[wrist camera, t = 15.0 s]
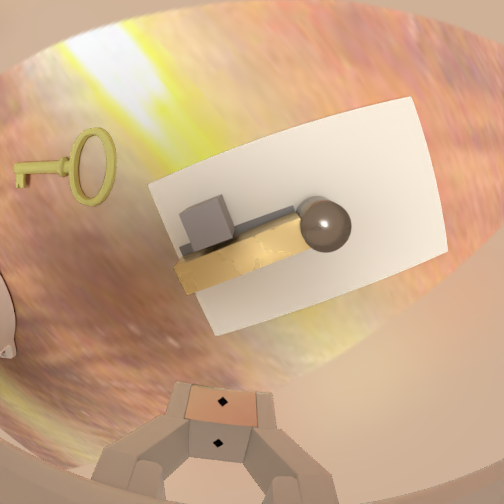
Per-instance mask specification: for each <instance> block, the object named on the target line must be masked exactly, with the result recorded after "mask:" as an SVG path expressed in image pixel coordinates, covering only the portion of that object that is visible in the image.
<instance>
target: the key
mask: <svg viewBox="0 0 504 504" xmlns="http://www.w3.org/2000/svg"><path fill="white" fill-rule="evenodd" d="M92 135H97V136H99V137H100V138H101V140H102V142H103V145H104V148H105V151H106V161H107V162H106V174H105V179H104V183H103V185H102V187H101V190H100V192H99V193H98V195H97V196H96V197H94V198H88V197H86V196H85V195H84V194H83V192H82V190H81V187H80V183H79V175H78V166H79V158H80V153H81V150H82V147H83V145H84V143H85V141H86V140H87V138H89V137H90V136H92ZM14 173H15V174H16V188H25V178H26V174H38V173H58V174H59V175H60V176H61V177H65V176H66V175H67V174H68V173H69V183H70V188H71V191H72V193H73V195H74V197H75V199H76V200H77V201H78V202H79V203H81V204H83V205H87V206H96V205H98V204H100V203H101V202H103V201H104V200H105V199H106V197H107V196H108V194H109V193H110V191H111V189H112V186H113V183H114V180H115V174H116V149H115V146H114V143H113V140H112V138H111V136H110V135H109V133H108V132H106V131H105V130H104V129H102V128H90V129H87V130H85V131H83V132H82V133H81V134H80V135H79V136H78V137H77V139H76V141H75V142H74V144H73V147H72V150H71V154H70V160H69V161H68V158H67V157H62V158H61V159H60V160H59V161H41V162H21V163H16V164H15V165H14Z"/></svg>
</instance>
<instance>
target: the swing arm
mask: <svg viewBox="0 0 504 504" xmlns="http://www.w3.org/2000/svg"><path fill="white" fill-rule="evenodd" d="M351 228H352V225H351V219H350V216H349V214H348V213H347V211H346V210H345V209H344V208H343V207H342V206H340V205H338V204H336V203H335V202H333V201H331V200H329V199H327V198H325V197H322V196H312V197H309V198H307V199H305V200H304V201H303V202H301V204H300V205H299V206H298V208H297V210H296V212H292V213H289V214H287V215H284V216H282V217H279V218H277V219H274V220H272V221H269V222H267V223H264V224H262V225H259V226H256V227H254V228H251V229H249V230H246V231H244V232H241V233H239V234H236V235H234V236H233V238H231V239H228V240H226V241H223V242H220V243H217V244H215V245H212V246H209V247H207V248H204V249H201V250H198V251H196V252H192V253H190V254H187V255H185V256H183V257H181V258H180V260H179V261H178V262H177V264H176V265H175V266H174V268H173V269H174V271H175V273H176V275H177V277H178V279H179V281H180V283H181V285H182V287H183V289H184V291H185V293H186V295H190V294H193V293H195V292H198V291H201V290H203V289H206V288H209V287H211V286H214V285H217V284H219V283H222V282H225V281H227V280H230V279H233V278H235V277H238V276H241V275H243V274H246V273H248V272H251V271H254V270H256V269H259V268H262V267H264V266H267V265H269V264H272V263H275V262H277V261H280V260H282V259H285V258H287V257H290V256H293V255H295V254H298V253H300V252H303V251H305V250H308V249H311V248H312V249H314V250H316V251H318V252H322V253H329V252H333V251H336V250H338V249H339V248H341V247H342V246H343V245H344V244H345V243H346V242H347V240H348V239H349V236H350V234H351Z"/></svg>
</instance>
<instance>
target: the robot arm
mask: <svg viewBox="0 0 504 504" xmlns="http://www.w3.org/2000/svg"><path fill="white" fill-rule="evenodd" d="M14 333H15V313H14V308H13V304H12V301H11V298H10V295H9V292H8V290H7V287H6V285H5V283H4V281H3V279H2V277H1V275H0V358H10V359H11V358H13V357H14V356H16V347H15V343H14ZM188 457H194V458H202V459H211V460H220V461H228V462H237V463H243V465H244V466H245V468H246V469H247V470H248V472H249V473H250V475H251V476H252V477H253V479H254V480H255V482H256V483H257V484H258V486H259V487H260V488H261V490H262V491H263V492H264V494H265V495H266V496H265V498H264V500H263V502H262V504H339V502H338V498H337V495H336V491H335V487H334V483H333V479H332V475H331V474H330V473H329V472H328V471H327V470H326V469H325V468H323V467H322V466H321V465H320V464H319V463H318V462H317V461H315V460H314V459H313V458H312V457H311V456H310V455H309V454H308V453H307V452H305V451H304V450H303V449H302V448H301V447H300V446H299V445H298V444H297V443H296V442H295V441H294V440H293V439H291V438H290V437H289V436H288V435H287V434H286V433H285V432H284V431H283V430H282V429H277V426H276V418H275V410H274V402H273V395H272V393H267V392H249V391H239V390H230V389H222V388H216V387H209V386H203V385H197V384H191V383H185V382H180V381H176V382H175V384H174V387H173V390H172V393H171V397H170V400H169V403H168V407H167V410H166V413H165V415H161V414H160V415H158V416H157V417H155V418H154V419H152V420H150V421H149V422H147V423H146V424H144V425H142V426H141V427H139V428H137V429H136V430H134V431H132V432H131V433H129V434H127V435H126V436H124V437H122V438H120V439H119V440H117V441H115V442H114V443H112V444H110V445H108V446H107V447H105V448H104V449H103V452H102V454H101V456H100V458H99V461H98V463H97V465H96V468H95V471H94V472H93V475H92V477H91V479H87V478H84V477H82V476H79V475H77V474H74V473H71V472H69V471H67V470H64V469H62V468H59V467H57V466H55V465H52V464H50V463H48V462H46V461H44V460H42V459H39V458H37V457H35V456H33V455H31V454H29V453H27V452H25V451H23V450H21V449H20V448H18V447H16V446H14V445H12V444H10V443H9V442H7V441H5V440H3V439H2V438H0V504H184V503H178V502H173V501H168V500H166V497H165V489H164V480H165V479H166V478H167V477H168V476H169V475H171V474H172V473H173V472H174V471H175V470H176V469H177V468H178V467H179V466H180V465H181V464H182V463H183V462H185V461H186V460H187V459H188ZM362 504H504V459H502V460H500V461H498V462H496V463H493V464H491V465H489V466H487V467H484V468H482V469H480V470H477V471H475V472H473V473H470V474H468V475H465V476H463V477H460V478H457V479H455V480H452V481H449V482H446V483H443V484H440V485H437V486H434V487H431V488H427V489H424V490H420V491H417V492H413V493H409V494H405V495H401V496H397V497H393V498H389V499H384V500H378V501H373V502H368V503H362Z"/></svg>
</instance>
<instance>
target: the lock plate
mask: <svg viewBox="0 0 504 504" xmlns="http://www.w3.org/2000/svg"><path fill="white" fill-rule="evenodd" d="M148 187H149V190H150V192H151V195H152V197H153V200H154V202H155V205H156V207H157V209H158V212H159V214H160V217H161V219H162V221H163V224H164V226H165V229H166V231H167V233H168V236H169V238H170V240H171V242H172V245H173V247H174V249H175V252H176V254H177V256H178V258H179V260H180V258H181V257H183V256H185V255H187V254H190V253H192V252H196V251H198V250H201V249H204V248H207V247H209V246H212V245H215V244H217V243H220V242H223V241H226V240H228V239H231V238H233V236H234V235H236V234H239V233H241V232H244V231H246V230H249V229H251V228H254V227H256V226H259V225H262V224H264V223H267V222H269V221H272V220H274V219H277V218H279V217H282V216H284V215H287V214H289V213H292V212H296V210H297V208H298V206H299V205H300V204H301V202H303V201H304V200H305V199H307V198H309V197H312V196H322V197H325V198H327V199H329V200H331V201H333V202H335V203H336V204H338V205H340V206H342V207H343V208H344V209H345V210H346V211H347V213H348V214H349V216H350V219H351V225H352V228H351V234H350V236H349V239H348V240H347V242H346V243H345V244H344V245H343V246H342V247H341V248H339V249H338V250H336V251H333V252H329V253H322V252H318V251H316V250H314V249H312V248H311V249H308V250H305V251H303V252H300V253H298V254H295V255H293V256H290V257H287V258H285V259H282V260H280V261H277V262H275V263H272V264H269V265H267V266H264V267H262V268H259V269H256V270H254V271H251V272H248V273H246V274H243V275H241V276H238V277H235V278H233V279H230V280H227V281H225V282H222V283H219V284H217V285H214V286H211V287H209V288H206V289H203V290H201V291H198V292H195V295H196V297H197V299H198V301H199V304H200V306H201V308H202V310H203V312H204V314H205V316H206V318H207V320H208V322H209V324H210V326H211V328H212V330H213V332H214V334H215V336H219V335H223V334H226V333H229V332H233V331H236V330H239V329H243V328H246V327H249V326H252V325H255V324H259V323H262V322H265V321H268V320H271V319H274V318H277V317H280V316H283V315H286V314H289V313H292V312H295V311H298V310H301V309H304V308H307V307H310V306H312V305H315V304H318V303H321V302H324V301H326V300H329V299H332V298H335V297H337V296H340V295H343V294H345V293H348V292H351V291H353V290H356V289H359V288H361V287H364V286H366V285H369V284H372V283H374V282H377V281H379V280H382V279H384V278H387V277H389V276H392V275H394V274H396V273H399V272H401V271H404V270H406V269H409V268H411V267H413V266H416V265H418V264H420V263H423V262H425V261H427V260H430V259H432V258H434V257H436V256H439V255H441V254H443V253H445V252H447V251H448V247H447V239H446V232H445V226H444V220H443V214H442V208H441V203H440V198H439V193H438V188H437V183H436V179H435V175H434V171H433V166H432V162H431V159H430V155H429V151H428V147H427V144H426V140H425V137H424V134H423V130H422V127H421V124H420V121H419V118H418V115H417V112H416V109H415V106H414V103H413V100H412V98H411V96H410V97H405V98H401V99H396V100H392V101H387V102H383V103H378V104H374V105H370V106H366V107H362V108H358V109H354V110H351V111H347V112H343V113H340V114H336V115H332V116H329V117H325V118H322V119H319V120H315V121H312V122H309V123H305V124H302V125H299V126H296V127H293V128H290V129H287V130H284V131H281V132H278V133H275V134H272V135H269V136H266V137H263V138H260V139H257V140H255V141H252V142H249V143H246V144H244V145H241V146H238V147H236V148H233V149H230V150H228V151H225V152H222V153H220V154H217V155H215V156H212V157H210V158H207V159H205V160H202V161H200V162H198V163H195V164H193V165H190V166H188V167H186V168H183V169H181V170H179V171H176V172H174V173H172V174H170V175H167V176H165V177H163V178H161V179H159V180H156V181H154V182H152V183H150V184H148Z"/></svg>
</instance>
